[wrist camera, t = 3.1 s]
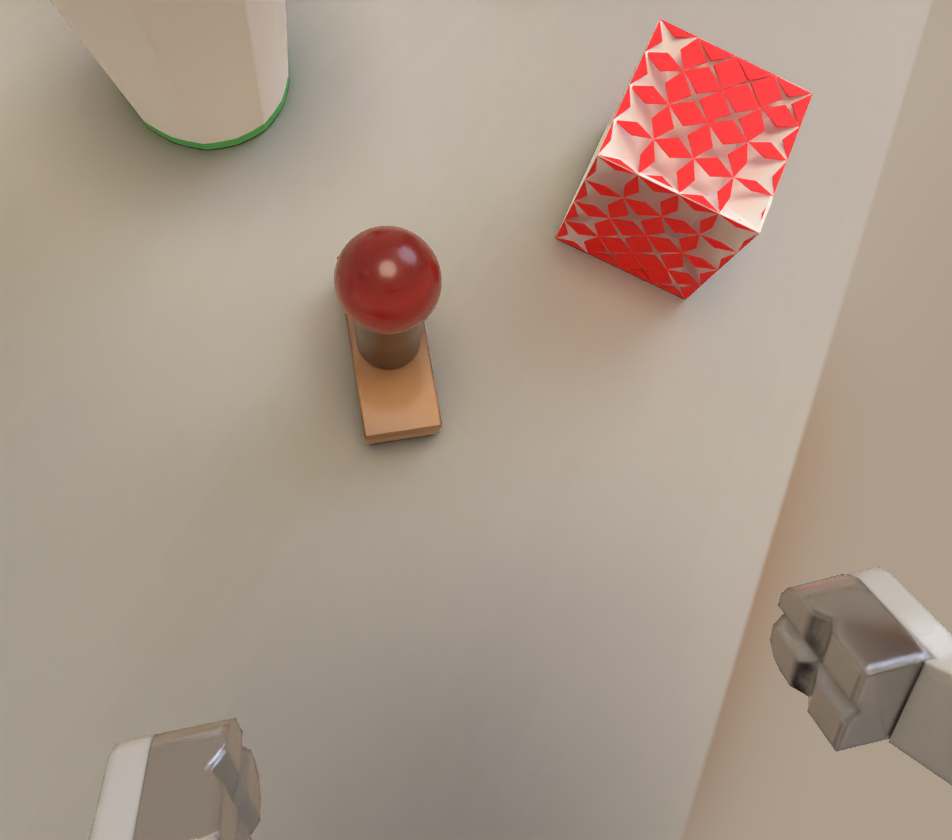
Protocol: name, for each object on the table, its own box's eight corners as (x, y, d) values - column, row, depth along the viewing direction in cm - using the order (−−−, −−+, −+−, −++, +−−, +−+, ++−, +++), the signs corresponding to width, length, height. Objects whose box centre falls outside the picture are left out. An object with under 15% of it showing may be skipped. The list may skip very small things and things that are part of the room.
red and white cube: (608, 123, 40) (659, 18, 32) (731, 183, 40) (813, 92, 32) (554, 239, 38) (596, 156, 30) (684, 300, 38) (759, 234, 30)
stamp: (442, 435, 35) (467, 373, 24) (362, 447, 34) (349, 390, 23) (413, 268, 37) (423, 137, 25) (336, 277, 36) (312, 147, 25)
